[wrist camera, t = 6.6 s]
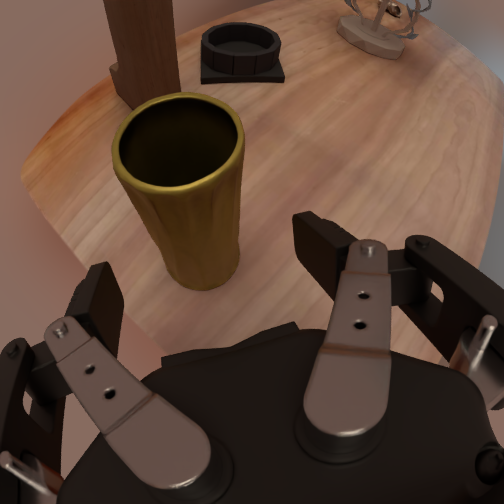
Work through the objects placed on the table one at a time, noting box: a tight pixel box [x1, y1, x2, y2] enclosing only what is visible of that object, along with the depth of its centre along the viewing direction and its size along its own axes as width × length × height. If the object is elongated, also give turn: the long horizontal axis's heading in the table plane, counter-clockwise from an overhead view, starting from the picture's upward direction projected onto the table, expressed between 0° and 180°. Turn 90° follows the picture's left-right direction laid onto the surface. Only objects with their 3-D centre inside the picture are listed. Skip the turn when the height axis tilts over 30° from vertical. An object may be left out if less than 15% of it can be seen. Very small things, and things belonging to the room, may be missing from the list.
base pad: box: [201, 22, 285, 84], centre depth 30 cm, size 10×10×4 cm
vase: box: [112, 92, 245, 290], centre depth 17 cm, size 6×6×14 cm
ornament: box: [378, 0, 402, 17], centre depth 46 cm, size 8×7×4 cm
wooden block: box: [103, 0, 181, 110], centre depth 20 cm, size 9×4×18 cm, turn 41°
